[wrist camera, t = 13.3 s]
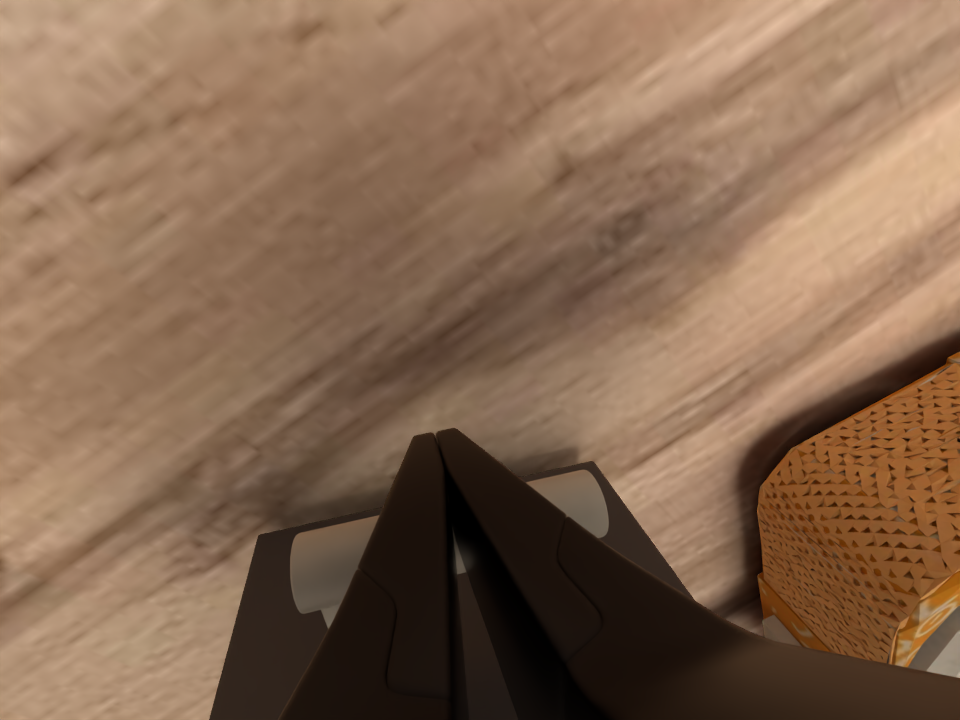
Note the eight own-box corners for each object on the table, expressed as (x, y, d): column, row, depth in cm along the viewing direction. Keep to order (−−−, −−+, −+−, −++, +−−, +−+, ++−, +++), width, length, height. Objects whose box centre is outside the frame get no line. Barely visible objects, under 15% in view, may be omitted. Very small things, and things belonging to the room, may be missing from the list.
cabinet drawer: (211, 423, 12) (-5, 822, 5) (601, 356, 14) (838, 566, 7) (345, 740, 20) (336, 1053, 13) (576, 667, 22) (673, 904, 15)
